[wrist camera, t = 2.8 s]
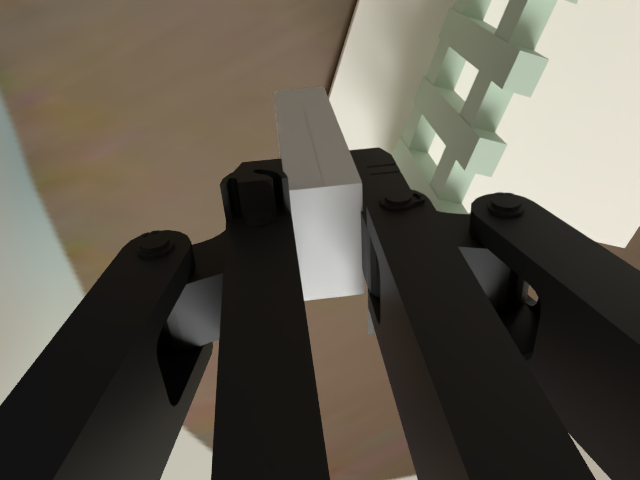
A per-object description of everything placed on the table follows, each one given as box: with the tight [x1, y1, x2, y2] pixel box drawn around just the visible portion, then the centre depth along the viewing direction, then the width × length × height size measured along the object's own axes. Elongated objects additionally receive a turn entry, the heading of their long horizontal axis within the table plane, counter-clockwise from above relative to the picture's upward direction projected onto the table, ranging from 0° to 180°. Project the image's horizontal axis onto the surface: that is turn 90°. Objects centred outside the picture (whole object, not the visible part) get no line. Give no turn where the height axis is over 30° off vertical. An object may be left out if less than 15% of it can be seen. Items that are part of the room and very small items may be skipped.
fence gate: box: [392, 0, 578, 214], centre depth 21 cm, size 11×1×7 cm, turn 163°
